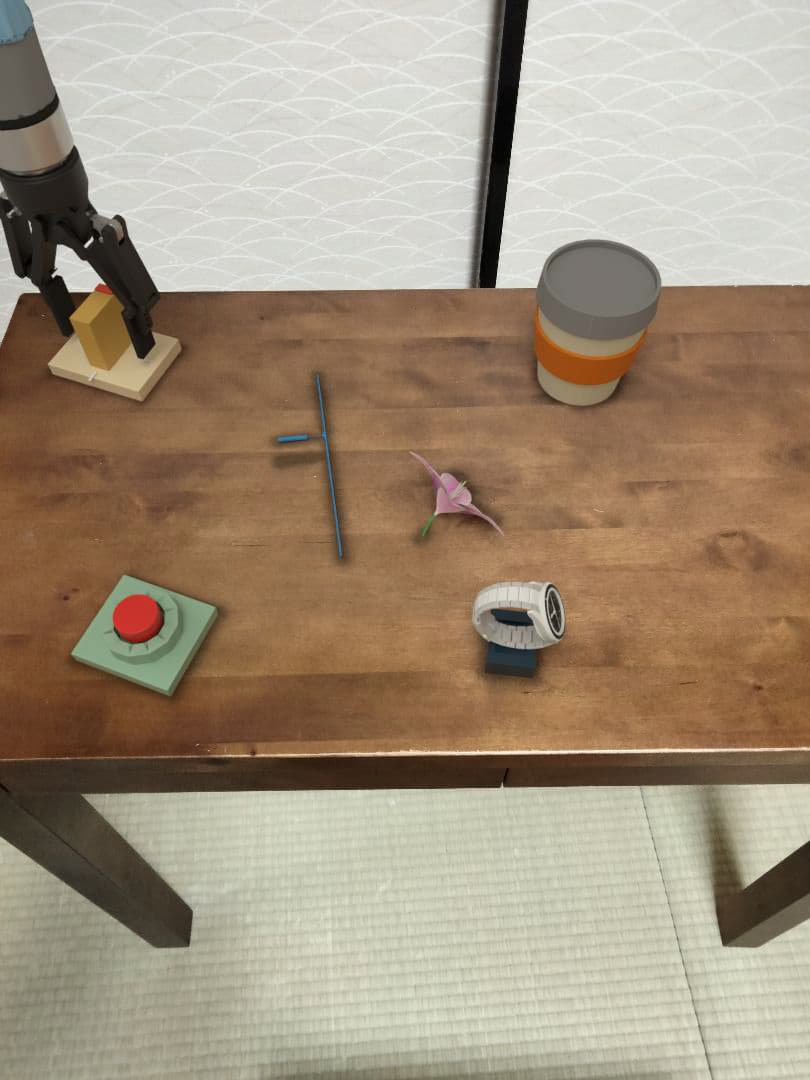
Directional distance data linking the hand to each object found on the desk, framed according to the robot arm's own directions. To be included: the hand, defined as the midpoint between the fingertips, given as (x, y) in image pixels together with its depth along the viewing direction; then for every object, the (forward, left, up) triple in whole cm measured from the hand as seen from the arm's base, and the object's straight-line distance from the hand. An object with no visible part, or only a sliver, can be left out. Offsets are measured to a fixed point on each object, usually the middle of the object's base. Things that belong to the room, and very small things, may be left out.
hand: (109, 339), depth 93 cm
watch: (+54, -19, -5) cm, 57 cm away
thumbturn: (0, 0, -2) cm, 2 cm away
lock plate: (0, 0, -4) cm, 4 cm away
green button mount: (+22, -30, -4) cm, 37 cm away
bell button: (+22, -30, -1) cm, 37 cm away
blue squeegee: (+27, -6, -5) cm, 28 cm away
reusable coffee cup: (+51, +17, -5) cm, 54 cm away
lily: (+44, -7, -5) cm, 45 cm away
